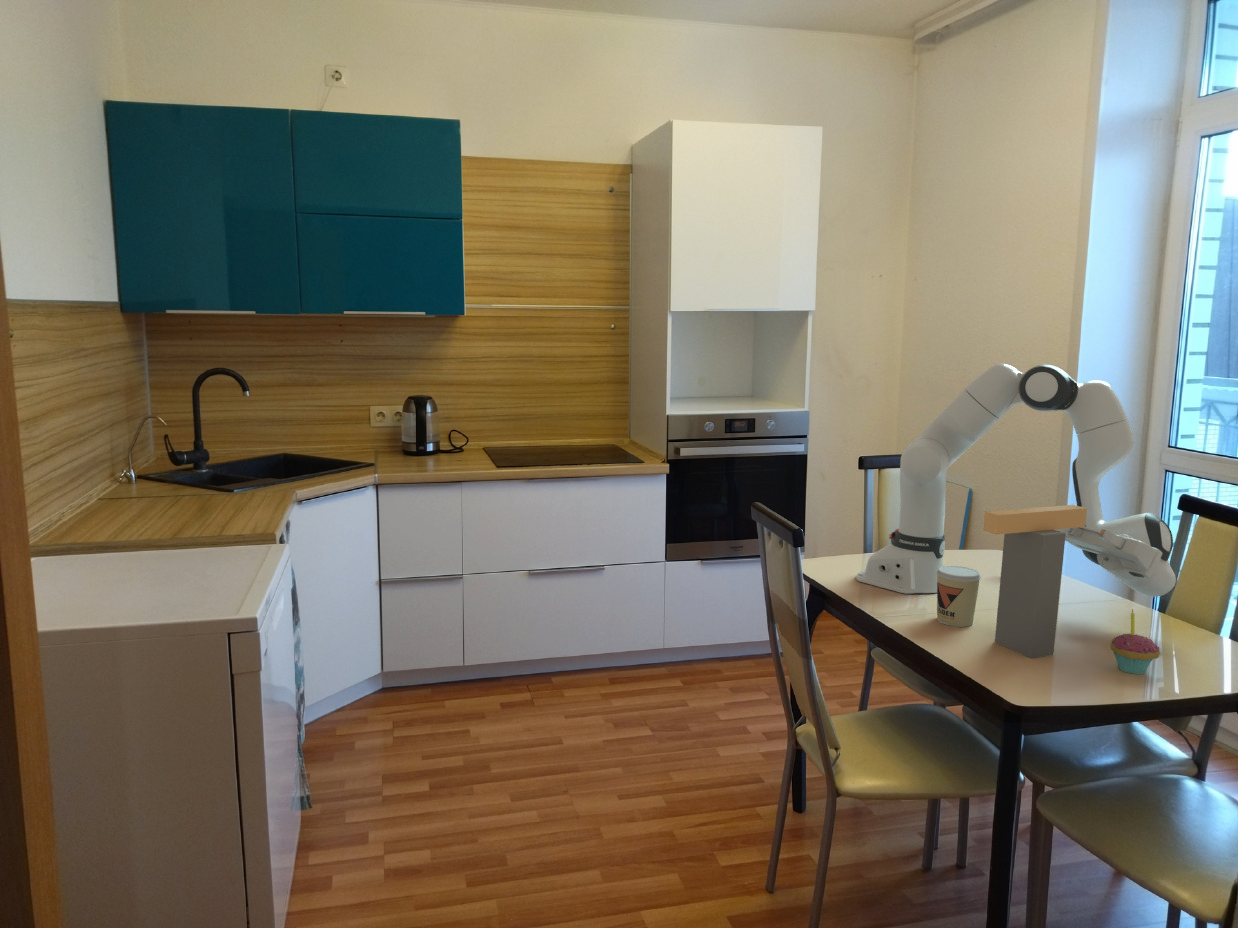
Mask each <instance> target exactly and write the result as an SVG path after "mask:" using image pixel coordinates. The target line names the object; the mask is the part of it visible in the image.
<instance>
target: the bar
mask: <svg viewBox="0 0 1238 928" xmlns="http://www.w3.org/2000/svg"><path fill="white" fill-rule="evenodd" d="M1086 514H1087V508H1084V507H1080V506H1077V504H1066V505H1055V506H1054V505H1053V506H1051V505H1050V506H1043V507H1042V506H1040V507H1037V506H1036V507H1027V508H1024V507H1023V508H1015V509H1013V508H1011V509H1001V510H1000V509H999V510H998V509H997V510H987V511H984V518H983V528H982V529H983V530H982V531H983V532H987V533H990V534H994V535H995V536H996V535H1004V534H1009V533H1020V532H1032V531H1043V530H1059V529H1066V528H1077V527H1085V524H1086Z"/></svg>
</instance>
